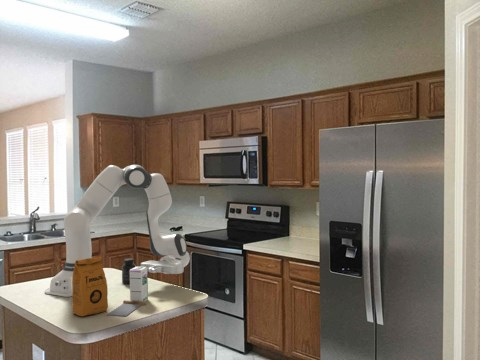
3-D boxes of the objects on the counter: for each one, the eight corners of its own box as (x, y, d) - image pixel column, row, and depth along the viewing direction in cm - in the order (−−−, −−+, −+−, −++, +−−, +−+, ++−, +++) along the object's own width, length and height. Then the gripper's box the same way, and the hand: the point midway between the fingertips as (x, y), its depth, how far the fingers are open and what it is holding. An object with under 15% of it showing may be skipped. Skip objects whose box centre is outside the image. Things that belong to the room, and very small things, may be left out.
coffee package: (110, 312, 164) (110, 257, 163) (79, 320, 155) (79, 262, 155) (100, 306, 171) (99, 253, 170) (69, 313, 162) (69, 258, 162)
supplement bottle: (138, 282, 207) (138, 259, 206) (126, 285, 202) (126, 261, 201) (131, 280, 211) (131, 257, 211) (119, 283, 206) (119, 259, 206)
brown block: (123, 303, 174) (123, 300, 174) (124, 302, 175) (124, 300, 175) (145, 305, 172) (145, 302, 172) (146, 304, 173) (146, 301, 173)
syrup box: (142, 303, 174) (142, 269, 174) (129, 302, 175) (129, 269, 175) (148, 299, 179) (147, 266, 179) (135, 298, 181) (135, 266, 180)
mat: (107, 315, 160) (107, 314, 160) (123, 304, 173) (123, 303, 173) (125, 316, 158) (125, 315, 158) (140, 305, 171) (140, 304, 171)
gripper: (150, 256, 203) (132, 262, 190) (186, 259, 195) (171, 265, 183) (150, 269, 203) (132, 275, 190) (186, 272, 196) (171, 280, 183)
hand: (151, 270), depth 186 cm, fingers closed
